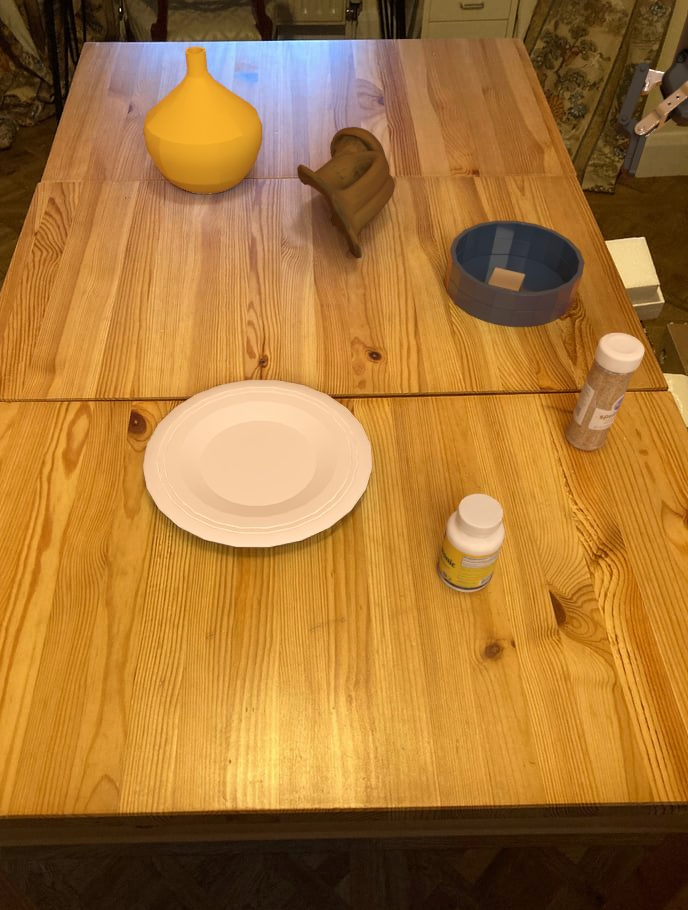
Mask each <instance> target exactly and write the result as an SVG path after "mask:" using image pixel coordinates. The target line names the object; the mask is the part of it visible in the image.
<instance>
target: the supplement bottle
mask: <svg viewBox="0 0 688 910" xmlns="http://www.w3.org/2000/svg"><path fill="white" fill-rule="evenodd" d="M503 518H504V509H503V507H502V505H501V503H499V501H498V500H497V499H495V498H494V497H492V496H490V495H488V494H484V493H471V494H468V495H466V496H465V497H464V498H462V499H461V501H459V504H458V508H457V509H456V510H455V511H454V512H453V513H452V514H451V515H450V516H449V517H448V520H447V522H446V525H445V529H444V533H443V534H444V535H443V540H442V544H441V547H440V551H439V555H438V561H437V572H438V575H439V577H440V579H441V580H442V582H443V583H444V585H446V586H448V587H449V588H451V589H453V590H454V591H457V592H461V593H475V592H479V591H480V590H482V589H485V587H486V586H487V585H489V583H490V581H491V579H492V577H493V575H494V572H495V568H496V565H497V562H498V559H499V556H500V552H501V549H502V546H503V544H504V540H505V536H506V529H505V525H504V523H503Z"/></svg>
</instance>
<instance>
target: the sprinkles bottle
mask: <svg viewBox="0 0 688 910" xmlns="http://www.w3.org/2000/svg"><path fill="white" fill-rule="evenodd" d="M645 349H646V348H645V346H644V344H643V343H642V342H641V340H639V339H638V338H637V337H635V336H633V335H631V334H629V333H624V332H610V333H607V334H604V335H603V336H602V337H600V339H599V341H598V343H597V345H596V348H595V350H594V355H593V356H594V358H593V361H592V363H591V365H590V368H589V372H588V374H587V375H586V376H585V377H586V378H585V380H584V382H583V386H582V388H581V391H580V393H579V396H578V399H577V402H576V403H575V405H574V406H575V407H574V409H573V413H572V417H571V419H570V422H569V425H568V426H567V427H566V430H565V432H564V433H565V438H566V440H567V441H568V443H569V444H570V445H572V446H573V447H574V448H576V449H578V450H581V451H587V452H589V451H596V450H599V449H601V448H602V447H603V446H604V445H605V444H606V440H607V436H608V433H609V431H610V429H611V426H612V425H613V423H614V421H615V419H616V417H617V414H618V413H619V410H620V407H621V405H622V403H623V400H624V398H625V396H626V392H627V390H628V387H629V386H630V383H631V380H632V378H633V376H634V374H635V372H636V371H637V369H638V368H639V367H640V365H641V362H642V361H643V358H644V355H645Z"/></svg>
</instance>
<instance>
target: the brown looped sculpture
mask: <svg viewBox="0 0 688 910" xmlns="http://www.w3.org/2000/svg"><path fill="white" fill-rule="evenodd" d="M382 145H383V144H381V142H380V140H379V139H378V138H377V137H376V136H375V134H373V133H372V132H370V131H369V130H367V129H365V128H362V127H357V126H348V127H343V128H341V129H340V130H337V132H336V133H335V134H334V135H333V136H332V140H331V142H330V146H329V149H330V157H331V158H330V159H328V161H327V162H326V163H324V164H323V165H322V166H320V167H319V168H318V169H317V170H315V171H314V170H312V169H311V168H309V167H307V166H305V164H298V166H297V169H296V170H297V177H298V179H299V182H300V183H302V184H303V185H305V186H309V187H311V188H313V189H315V190H316V191H317V192H318V193H320V194H321V195H322V196H323V197H324V199H325V200H326V202H327V203H328V205H329V206H330V208H331V211H332V212H331V216H330V218H329V219H330V221H329V222H330V224H331V225H332V226H333V225H334V226H333V227H335V229H336V230H337V231H338V232H340V233H342V234H343V236H344V237H345V240H346V242H347V246H348V248H349V251H350V252H351V254H352V256H354V257H355V258H356V259H361V258H362V257H363V253H362V252H363V251H362V248H361V246H360V240H359V236H360V234H361V232H362V231H363V230H364V229H365V228H366V227H367V226H368V225H369V224H370V223H371V222H372V221H373V220H374V219H375V218H376V216H377V215H378V214H379V213H380V212H381V211H382V210H383V209H384V207H385V206H386V205H387V204H388V203H389V201H390V200H391V198H392V196H393V195H394V193H395V187H396V184H395V180H394V178H393V177H392V175H391V174H390V170H391V169H390V164H389V161H388V159H387V157H386V151H385V150H384V147H383V146H382Z"/></svg>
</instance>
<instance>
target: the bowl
mask: <svg viewBox="0 0 688 910" xmlns="http://www.w3.org/2000/svg"><path fill="white" fill-rule="evenodd" d="M495 268H500V269H505V270H509V271H513V272H518V273H522V274H525V277H524V281H523V285H522V289H521V292H516V291H510V290H505V289H500V288H496V287H493V286H491V285H488V282H489V280H490V278H491V276H492V274H493V272H494V269H495ZM584 268H585V260H584V257H583V254H582V251H581V250H580V249H579V248H578V247H577V246H576V244H575V243H573V241H571V239H569V238H568V237H566V236H564V235H562V234H561V233H560V232H557V231H556V230H554V229H552V228H549V227H546V226H543V225H539V224H538V223H533V222H527V221H521V220H503V219H502V220H491V221H486V222H480V223H477V224H474V225H473V226H470V227H467V228H465V229H463V230H462V231H461V232H460V233H459V234H458V235H457V236H456V237H454V239H453V240H452V243H451V245H450V249H449V253H448V259H447V265H446V271H445V277H444V285H445V289H446V294H447V295H448V297H449V299H450V300H451V301H452V302H453V303H454V304H455V305H456V306H457V307H458V308H459V309H460V310H462V311H463V312H465V314H468V315H469V316H472V317H473V318H476V319H477V320H480V321H483V322H486V323H489V324H492V325H497V326H501V327H508V328H531V327H538V326H543V325H546V324H550V323H553V322H554V321H556V320H558V319H560V318H561V317H563V316H565V315H566V314H567V313H568V311H569V310H570V308H571V307H572V306H573V305H574V302H575V298H576V295H577V293H578V290H579V286H580V283H581V280H582V277H583V274H584V270H585V269H584Z"/></svg>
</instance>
